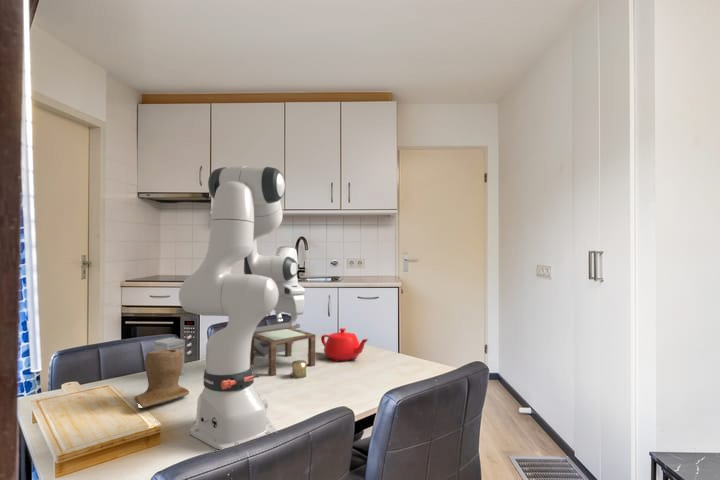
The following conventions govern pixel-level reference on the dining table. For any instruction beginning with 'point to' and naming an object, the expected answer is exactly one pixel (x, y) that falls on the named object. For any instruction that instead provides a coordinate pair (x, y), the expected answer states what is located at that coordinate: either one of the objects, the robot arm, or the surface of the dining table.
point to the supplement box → (171, 346)
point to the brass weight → (299, 369)
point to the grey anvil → (264, 348)
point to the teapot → (342, 346)
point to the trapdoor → (280, 334)
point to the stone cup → (162, 378)
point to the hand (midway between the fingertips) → (285, 323)
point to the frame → (287, 347)
